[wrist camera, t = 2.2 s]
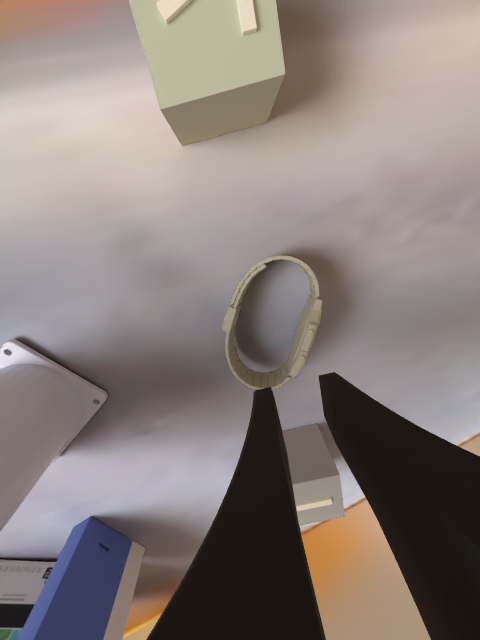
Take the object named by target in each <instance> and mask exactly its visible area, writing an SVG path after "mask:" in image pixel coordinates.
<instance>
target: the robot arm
mask: <svg viewBox="0 0 480 640" xmlns="http://www.w3.org/2000/svg"><path fill="white" fill-rule="evenodd" d="M9 350H10V351H11V352H12V353H11V352H10V351H9ZM319 382H320V389H321V396H322V403H323V410H324V417H325V419H326V421H327V424H328V426H329V429H330V431H331V433H332V436H333V438H334V440H335V442H336V444H337V446H338V448H339V450H340V452H341V453H342V455H343V457H344V459H345V461H346V463H347V464H348V466H349V468H350V470H351V472H352V473H353V475H354V477H355V479H356V481H357V482H358V484H359V486H360V488H361V490H362V491H363V493H364V495H365V497H366V499H367V500H368V502H369V504H370V506H371V508H372V510H373V512H374V514H375V516H376V517H377V520H378V521H379V524H380V526H381V528H382V530H383V532H384V535H385V537H386V539H387V541H388V543H389V545H390V548H391V550H392V552H393V554H394V556H395V559H396V561H397V563H398V565H399V568H400V570H401V572H402V574H403V577H404V579H405V581H406V583H407V585H408V588H409V590H410V592H411V594H412V597H413V599H414V601H415V603H416V606H417V608H418V610H419V612H420V615H421V617H422V619H423V622H424V624H425V626H426V628H427V631H428V633H429V635H430V638H431V640H480V456H477V455H475V454H473V453H471V452H469V451H467V450H464V449H462V448H460V447H458V446H456V445H454V444H452V443H450V442H448V441H446V440H444V439H442V438H440V437H438V436H436V435H434V434H432V433H430V432H428V431H426V430H424V429H423V428H421V427H419V426H417V425H415V424H413V423H412V422H410V421H408V420H407V419H405V418H403V417H401V416H400V415H398V414H396V413H395V412H393V411H391V410H390V409H388V408H387V407H385V406H383V405H382V404H380V403H379V402H377V401H376V400H374V399H373V398H371V397H370V396H368V395H367V394H365V393H364V392H362V391H361V390H359V389H358V388H356V387H355V386H354V385H352V384H351V383H349V382H348V381H346V380H345V379H344V378H342V377H341V376H339V375H338V374H336V373H335V372H333V373H329V374H324V375H320V376H319ZM107 397H108V394H107V393H106V392H105V391H104V390H102V389H100V388H98V387H97V386H95V385H93V384H91V383H90V382H88V381H86V380H85V379H83V378H81V377H79V376H78V375H76V374H74V373H72V372H71V371H69V370H67V369H66V368H64V367H62V366H60V365H59V364H57V363H55V362H53V361H52V360H50V359H48V358H47V357H45V356H43V355H41V354H40V353H38V352H36V351H34V350H33V349H31V348H29V347H28V346H26V345H24V344H22V343H21V342H19V341H17V340H14V339H11V340H8V341H7V342H5V343H4V345H3V346H2V348H1V349H0V532H1V530H2V529H3V528H4V526H5V525H6V524H7V522H8V521H9V519H10V518H11V517H12V515H13V514H14V513H15V511H16V510H17V509H18V507H19V506H20V504H21V503H22V502H23V500H24V499H25V498H26V496H27V495H28V494H29V492H30V491H31V489H32V488H33V487H34V485H35V484H36V483H37V481H38V480H39V479H40V477H41V476H42V474H43V473H44V472H45V470H46V469H47V468H48V466H49V465H50V464H51V462H54V461H55V460H56V459H57V458H58V457H59V456H60V454H61V453H62V452H63V451H64V450H65V448H66V447H67V446H68V445H69V444H70V442H71V441H72V440H73V439H74V438H75V436H76V435H77V434H78V433H79V432H80V430H81V429H82V428H83V427H84V426H85V425H86V423H87V422H88V421H89V420H90V419H91V417H92V416H93V415H94V414H95V413H96V411H97V410H98V409H99V408H100V407H101V405H102V404H103V403H104V402H105V401H106V399H107ZM96 399H97V400H99V401H97V400H96ZM147 640H326V639H325V634H324V630H323V626H322V622H321V617H320V613H319V609H318V605H317V601H316V596H315V592H314V588H313V584H312V579H311V575H310V571H309V567H308V563H307V558H306V554H305V550H304V546H303V542H302V537H301V532H300V527H299V522H298V516H297V510H296V504H295V498H294V492H293V486H292V479H291V473H290V467H289V461H288V455H287V450H286V446H285V441H284V437H283V433H282V429H281V424H280V420H279V416H278V412H277V407H276V403H275V399H274V395H273V392H272V388H271V387H267V388H263V389H259V390H256V391H255V392H254V398H253V407H252V413H251V418H250V422H249V427H248V431H247V435H246V439H245V442H244V445H243V448H242V452H241V455H240V458H239V461H238V464H237V467H236V470H235V472H234V475H233V478H232V480H231V483H230V485H229V488H228V490H227V492H226V495H225V497H224V499H223V501H222V504H221V506H220V508H219V510H218V513H217V515H216V517H215V519H214V521H213V523H212V525H211V527H210V529H209V531H208V533H207V535H206V537H205V539H204V541H203V543H202V545H201V547H200V548H199V550H198V552H197V554H196V556H195V558H194V560H193V562H192V563H191V565H190V567H189V569H188V571H187V573H186V574H185V576H184V578H183V580H182V581H181V583H180V585H179V587H178V588H177V590H176V592H175V593H174V595H173V596H172V598H171V600H170V601H169V603H168V605H167V606H166V608H165V610H164V611H163V613H162V615H161V616H160V618H159V620H158V621H157V623H156V625H155V627H154V628H153V630H152V631H151V633H150V635H149V636H148V638H147Z"/></svg>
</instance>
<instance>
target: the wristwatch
mask: <svg viewBox="0 0 480 640" xmlns="http://www.w3.org/2000/svg"><path fill="white" fill-rule="evenodd" d="M274 260H275V261H276V260H288V261H291V262H294V263H296V264H298V265H299V266H300V267H301V268H302V269H304V271H305V273H306V274H307V275H308V279H309V281H310V291H311V292H310V294H309V297H308V300H307V302H306V304H305V307H304V309H303V311H302V314H301V317H300V320H299V323H298V326H297V329H296V331H295V334H294V337H293V342H292V346H291V350H290V354H289V357H288V361H286V362H285V363H284V364H283V366H281V367H280V368H278V369H277V370H274V371H271V372H264V373H262V372H256V371H254V370H252V369H249V368H248V367H247V366H246V365H244V364H243V362H242V361H241V359H240V358H239V356H238V354H237V351H236V347H235V340H234V335H235V333H234V331H235V325H236V323H237V320H238V316H239V313H240V310H241V306H242V301H243V298H244V296H245V293H246V291H247V288H248V287H249V285H250V282H251V281H252V280H253V279H254V278H255V276H256V275H257V274H259V273H260V272H261V271H262V270H264V269H265V268H267V267H268V265H267V264H266V263H269V262H272V261H274ZM318 285H319V284H318V282H317V279H316V277H315V274H314V273H313V272H312V270H311V269H310V268H309V266H308V265H306V264H305V263H304V262H301V260H299V259H296V258H294V257H292V256H282V255H279V256H274V257H269V258H267V259H264V260H262V261H260V262H259V263H257V264H256V265H255V266H253V267H252V268H251V269H250V270H249V271H248V272H247V273H246V274H245V275H244V277H243V278H242V280H241V281H240V282H239V284H238V286H237V288H236V290H235V292H234V295H233V296H232V299H231V302H230V303H231V304H230V305H229V308H228V310H227V313H226V315H225V318H224V320H223V323H222V329H223V330H224V331H225V332H227V333H226V336H225V340H226V341H225V355H226V359H227V363H228V365H229V368H230V370H231V372H233V375H234V376H235V377H236V379H238V380H239V381H240V382H241V383H242V384H243V385H244V384H245V386H247V387H248V388H250V389H251V388H252V389H254V390H259V389H263V388H267V387H271V388H272V390H275V389H277V388H280V387H281V386H283V385H284V384H286V383H287V382H288V381H289V380H290V377H291V376H293V377H296V376H297V375H298V373H299V372H300V371H301V370H302V369H303V367H304V366H305V364H306V362H307V360H308V357H309V354H310V351H311V349H312V346H313V343H314V340H315V337H316V335H317V332H318V329H319V326H320V322H321V317H322V300H321V299H320V298H319V295H320V294H319V287H318Z"/></svg>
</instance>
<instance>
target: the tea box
mask: <svg viewBox="0 0 480 640" xmlns="http://www.w3.org/2000/svg"><path fill="white" fill-rule="evenodd" d="M55 563H56V562H40V561H20V560H2V559H0V640H17V639H18V637H19V635H20V633H21V631H22V629H23V627H24V625H25V623H26V621H27V619H28V617H29V615H30V613H31V611H32V609H33V607H34V605H35V603H36V601H37V599H38V597H39V595H40V593H41V591H42V589H43V587H44V585H45V583H46V581H47V579H48V577H49V575H50V573H51V571H52V569H53V567H54V565H55Z"/></svg>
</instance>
